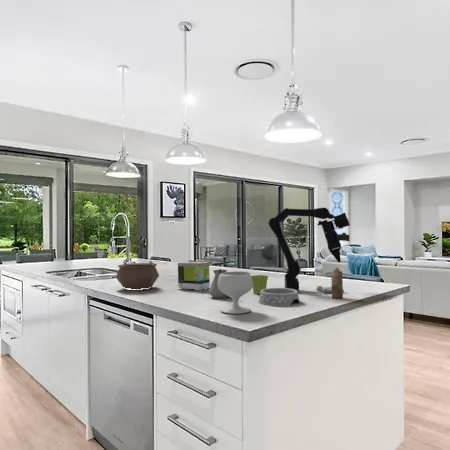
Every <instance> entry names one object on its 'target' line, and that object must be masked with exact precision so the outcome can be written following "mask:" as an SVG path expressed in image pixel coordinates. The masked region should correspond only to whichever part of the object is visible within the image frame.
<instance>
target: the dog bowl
mask: <svg viewBox="0 0 450 450" xmlns="http://www.w3.org/2000/svg"><path fill="white" fill-rule="evenodd" d="M295 301H298V303H299V304H300V303H301V300H300V296H299V291H297V290H294V289H289V288H285V287H269V288H266V289H263V290H261V292H260V294H259V299H258V304H260V305H263V306H270V307H289V306H291V304H293V303H294V302H295Z"/></svg>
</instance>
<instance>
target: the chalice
mask: <svg viewBox="0 0 450 450" xmlns="http://www.w3.org/2000/svg"><path fill="white" fill-rule="evenodd" d="M251 276H252V275H251V273H250V272H248V271H226V272H223V273H221V274H220V275H219V278H218V283H217V285H218V288H219V290H220V291H221V292H223V293H224V294H226V295H228V296H229V297H228V298H230V299H232V303H233V304H232V306H226V307H224V308H221V309H219V311H220V312H221V313H224V314H229V315H237V314H240V315H241V314H245V313H250V312H251V311H252V309H251V308H249V307H247V306H240V305H239V300H240V298H242V297H243V296H245V294H248V293H249V292H251V290H253V280H252V277H251Z"/></svg>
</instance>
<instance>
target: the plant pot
mask: <svg viewBox="0 0 450 450" xmlns="http://www.w3.org/2000/svg"><path fill="white" fill-rule="evenodd" d="M251 277H252V280H253V287H252V291H253V294H255V295H260V292H261V290H263V289H267V286H268V285H267V283H268V279H269V275H265V274H264V275H262V274H257V275H256V274H255V275H251Z"/></svg>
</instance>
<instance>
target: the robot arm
mask: <svg viewBox="0 0 450 450" xmlns="http://www.w3.org/2000/svg"><path fill="white" fill-rule="evenodd" d="M289 216H290V217H311V218H316V219H321V220H318V223H317V226H321V228H322V231H323V234H324V238H325V240H326V244H327V250H328V251H329V253H330V254H331V255H332V256H333V257H334V259H335V260H336V261H337V262H338V263H341V262H342V261H341V252H340V251H341V249H342V244H341V242H340V241H343V242H344V241H345V242H350V234H347V233H346V232H342V233H341V234H339V233H338V231H336V228H338V229H339V230H341V229H342V228H345V227H346V228H347V227H349V226H351V225H350V221H349V218H348V217H347V214H346V212H342V213H341V214H338V215H337V214H336V215H334V214H331V213H330V210H329V209H328V208H327V207H318V208H317V207H316V208H312V209H308V208H305V209H303V208H288V207H286V208H284V209H283V210H282V211H281V212H280V213H278V214H277V215H276V216H275V217H271V218H270V219H269V221H268V226H269V227H270V229H271V231H272V232H273V234H274V235H275V236H276V238H277V241H278V243H279V245H280V249H281V250H282V252H283V255H284V257H285V258H284V259H285V260H286V264H287V270H288V271H287V272H286V273H285V274H284V288H289V289H294V290H297V291H298V292H299V291H300V282H299V278H298V276H299V275H300V274H301V273H302V265H301V264H300V261H299V259H296V258H295V257H294V255H293V253H292V251H291V248H290V246H289V243H288V241H287V239H286V236H285V233H284V230H283V229H284V228H283V222H284V221H285V220H286V219H288V218H289ZM328 220H329V221H328Z"/></svg>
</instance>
